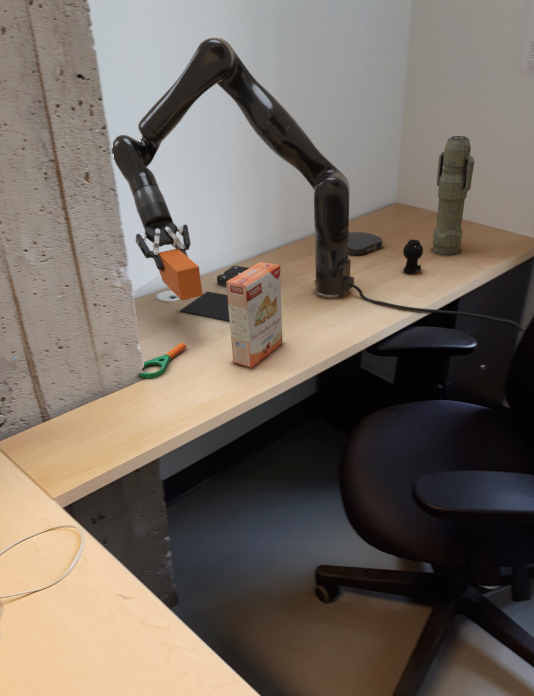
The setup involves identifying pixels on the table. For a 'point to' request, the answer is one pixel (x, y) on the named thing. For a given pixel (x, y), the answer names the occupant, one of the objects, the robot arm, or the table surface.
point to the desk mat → (209, 306)
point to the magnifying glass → (162, 361)
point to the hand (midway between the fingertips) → (174, 267)
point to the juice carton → (181, 274)
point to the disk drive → (230, 274)
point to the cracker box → (255, 313)
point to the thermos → (452, 194)
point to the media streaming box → (363, 243)
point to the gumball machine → (412, 256)
